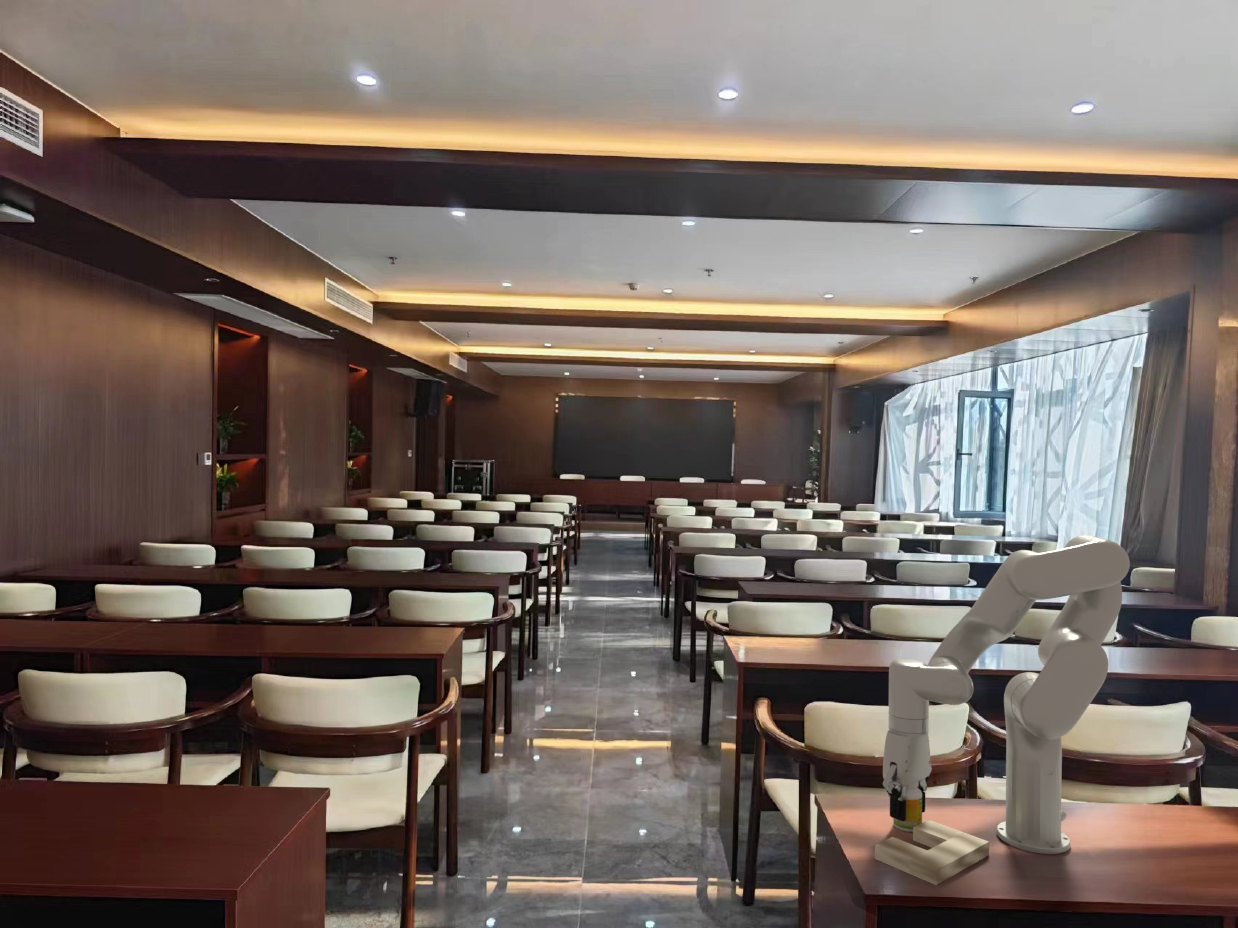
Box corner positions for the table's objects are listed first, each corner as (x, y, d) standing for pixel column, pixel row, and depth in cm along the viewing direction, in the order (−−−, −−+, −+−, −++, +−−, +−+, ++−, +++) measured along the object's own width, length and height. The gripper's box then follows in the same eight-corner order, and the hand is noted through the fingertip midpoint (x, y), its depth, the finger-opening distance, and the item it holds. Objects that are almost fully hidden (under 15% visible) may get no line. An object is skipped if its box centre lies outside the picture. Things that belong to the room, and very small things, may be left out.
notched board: (928, 832, 161) (928, 819, 161) (988, 855, 152) (988, 841, 152) (874, 858, 150) (874, 844, 150) (935, 885, 140) (936, 870, 140)
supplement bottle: (924, 834, 160) (924, 783, 160) (895, 831, 161) (895, 781, 162) (919, 822, 166) (920, 773, 166) (891, 819, 167) (892, 771, 167)
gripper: (915, 711, 172) (914, 797, 172) (866, 726, 161) (865, 819, 161) (949, 720, 166) (948, 809, 166) (900, 736, 155) (899, 832, 155)
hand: (907, 813), depth 164 cm, fingers open, 6 cm apart
